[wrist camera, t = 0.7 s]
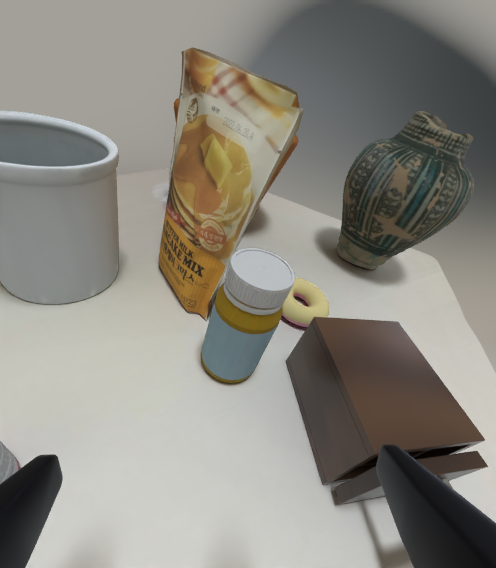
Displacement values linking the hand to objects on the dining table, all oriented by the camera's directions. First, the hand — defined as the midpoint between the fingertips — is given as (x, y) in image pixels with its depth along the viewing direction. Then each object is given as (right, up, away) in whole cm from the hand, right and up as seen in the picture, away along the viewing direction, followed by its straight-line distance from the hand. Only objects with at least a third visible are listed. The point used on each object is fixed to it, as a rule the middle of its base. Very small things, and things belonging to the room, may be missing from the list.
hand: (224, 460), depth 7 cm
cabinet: (+13, -10, +25) cm, 30 cm away
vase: (+27, +11, +56) cm, 63 cm away
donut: (+9, +1, +37) cm, 38 cm away
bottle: (-2, -5, +26) cm, 26 cm away
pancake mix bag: (-9, +5, +35) cm, 36 cm away
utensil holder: (-25, +7, +30) cm, 39 cm away
